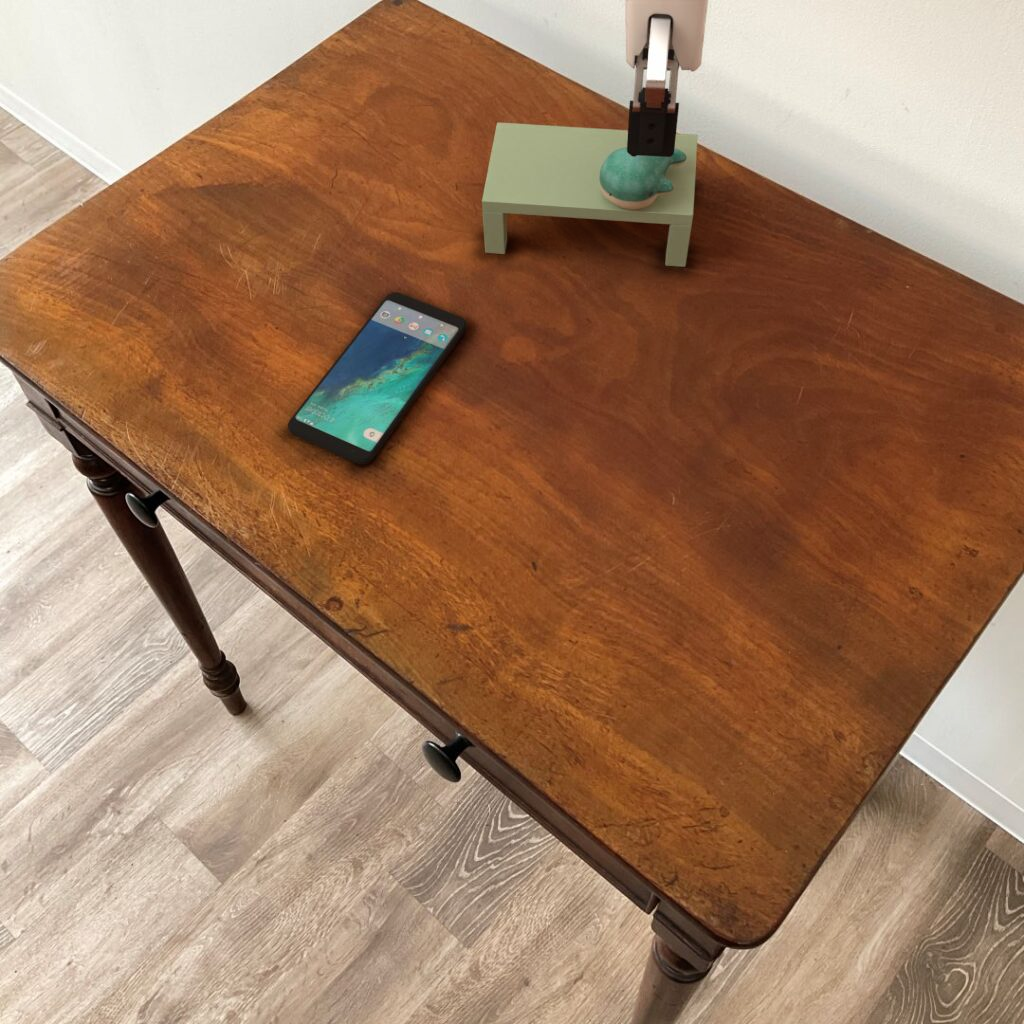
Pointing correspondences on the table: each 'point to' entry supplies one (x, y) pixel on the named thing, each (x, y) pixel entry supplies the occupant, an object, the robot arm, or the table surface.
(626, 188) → the whale figurine
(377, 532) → the table surface
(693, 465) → the table surface
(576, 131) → the miniature table
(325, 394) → the smartphone
